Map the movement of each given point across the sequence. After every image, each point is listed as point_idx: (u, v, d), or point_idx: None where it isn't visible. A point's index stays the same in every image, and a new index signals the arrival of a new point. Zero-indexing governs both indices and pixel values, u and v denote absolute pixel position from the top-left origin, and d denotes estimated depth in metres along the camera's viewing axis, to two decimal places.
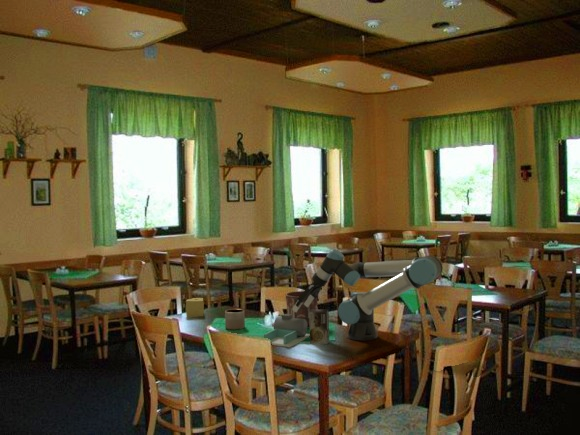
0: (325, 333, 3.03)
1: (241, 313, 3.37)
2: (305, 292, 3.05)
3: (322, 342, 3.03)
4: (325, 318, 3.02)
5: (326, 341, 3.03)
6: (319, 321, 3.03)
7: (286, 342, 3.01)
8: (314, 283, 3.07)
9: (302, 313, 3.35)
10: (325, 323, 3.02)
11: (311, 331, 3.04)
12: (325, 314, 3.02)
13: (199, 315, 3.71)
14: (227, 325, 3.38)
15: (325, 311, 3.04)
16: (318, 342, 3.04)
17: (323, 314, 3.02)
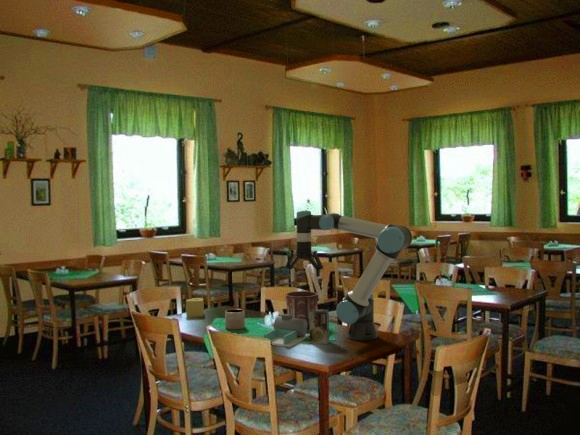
0: (325, 333, 3.03)
1: (241, 313, 3.37)
2: None
3: (322, 342, 3.03)
4: (325, 318, 3.02)
5: (326, 341, 3.03)
6: (319, 321, 3.03)
7: (286, 342, 3.01)
8: None
9: (302, 313, 3.35)
10: (325, 323, 3.02)
11: (311, 331, 3.04)
12: (325, 314, 3.02)
13: (199, 315, 3.71)
14: (227, 325, 3.38)
15: (325, 311, 3.04)
16: (318, 342, 3.04)
17: (323, 314, 3.02)
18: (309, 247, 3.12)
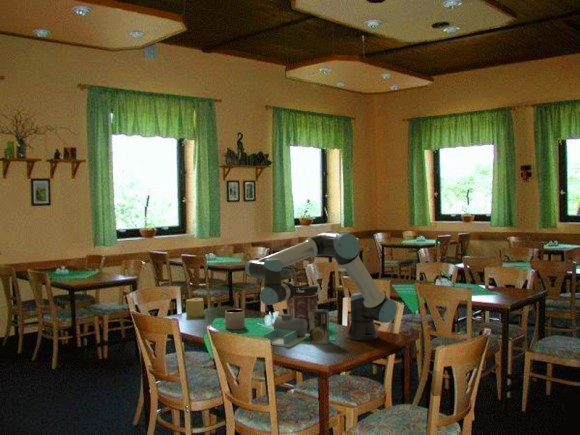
0: (325, 333, 3.03)
1: (241, 313, 3.37)
2: (308, 290, 2.78)
3: (322, 342, 3.03)
4: (325, 318, 3.02)
5: (326, 341, 3.03)
6: (319, 321, 3.03)
7: (286, 342, 3.01)
8: (295, 291, 2.76)
9: (302, 313, 3.35)
10: (325, 323, 3.02)
11: (311, 331, 3.04)
12: (325, 314, 3.02)
13: (199, 315, 3.71)
14: (227, 325, 3.38)
15: (325, 311, 3.04)
16: (318, 342, 3.04)
17: (323, 314, 3.02)
18: None
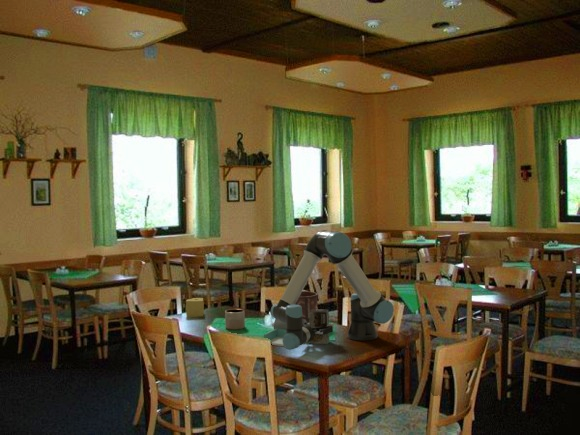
0: None
1: (241, 313, 3.37)
2: (326, 331, 2.96)
3: (322, 342, 3.03)
4: (325, 318, 3.02)
5: (326, 341, 3.03)
6: (319, 321, 3.03)
7: None
8: (314, 333, 2.92)
9: None
10: (325, 323, 3.02)
11: None
12: (325, 314, 3.02)
13: (199, 315, 3.71)
14: (227, 325, 3.38)
15: (325, 311, 3.04)
16: (318, 342, 3.04)
17: (323, 314, 3.02)
18: None
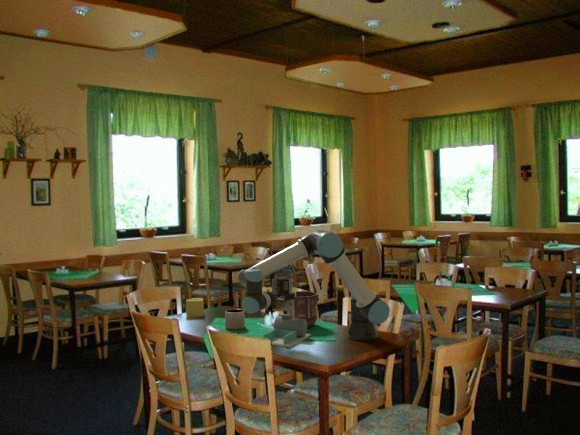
0: (287, 300, 3.02)
1: (241, 313, 3.37)
2: (287, 298, 2.96)
3: (284, 309, 3.03)
4: (287, 285, 3.02)
5: (288, 308, 3.03)
6: (281, 288, 3.03)
7: (286, 342, 3.01)
8: (275, 299, 2.92)
9: (302, 313, 3.35)
10: (287, 290, 3.02)
11: None
12: (287, 281, 3.02)
13: (199, 315, 3.71)
14: (226, 325, 3.38)
15: (288, 278, 3.04)
16: (280, 309, 3.03)
17: (285, 281, 3.02)
18: None
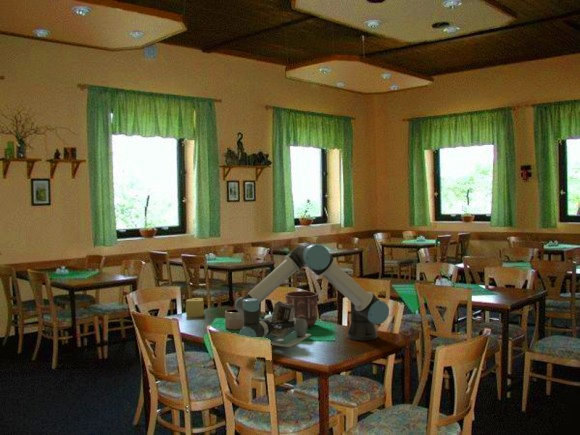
0: None
1: None
2: (285, 326, 2.96)
3: (280, 336, 3.04)
4: (288, 314, 3.01)
5: None
6: (282, 315, 3.02)
7: (286, 342, 3.01)
8: (273, 327, 2.93)
9: (302, 313, 3.35)
10: (287, 319, 3.02)
11: None
12: (289, 310, 3.01)
13: (199, 315, 3.71)
14: (226, 325, 3.38)
15: (290, 307, 3.03)
16: (276, 335, 3.04)
17: (287, 310, 3.01)
18: None
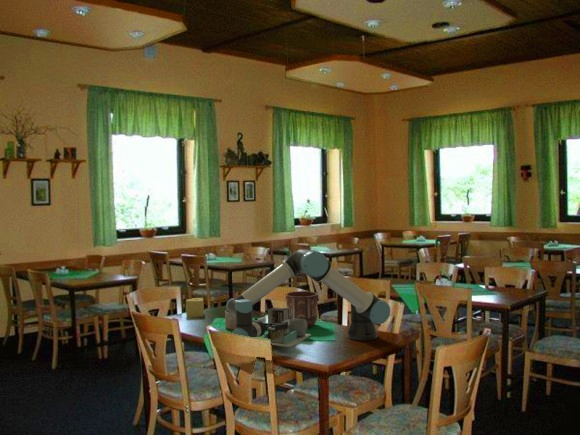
0: (282, 331, 3.02)
1: None
2: (279, 327, 2.91)
3: (279, 340, 3.03)
4: (282, 316, 3.02)
5: None
6: (276, 319, 3.03)
7: (286, 342, 3.01)
8: (266, 329, 2.89)
9: (302, 313, 3.35)
10: (282, 321, 3.02)
11: None
12: (282, 312, 3.02)
13: (199, 315, 3.71)
14: (227, 325, 3.38)
15: (283, 309, 3.03)
16: (275, 340, 3.04)
17: (280, 312, 3.02)
18: None
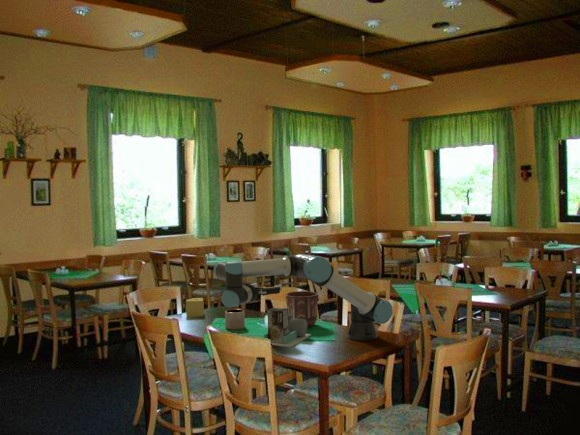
0: (282, 332, 3.02)
1: (241, 313, 3.37)
2: (271, 291, 2.82)
3: (279, 341, 3.03)
4: (281, 317, 3.01)
5: None
6: (276, 319, 3.03)
7: (286, 342, 3.01)
8: (257, 293, 2.80)
9: (302, 313, 3.35)
10: (282, 322, 3.02)
11: (269, 329, 3.05)
12: (281, 313, 3.01)
13: (199, 315, 3.71)
14: (227, 325, 3.38)
15: (282, 310, 3.03)
16: (275, 341, 3.04)
17: (279, 313, 3.02)
18: None
